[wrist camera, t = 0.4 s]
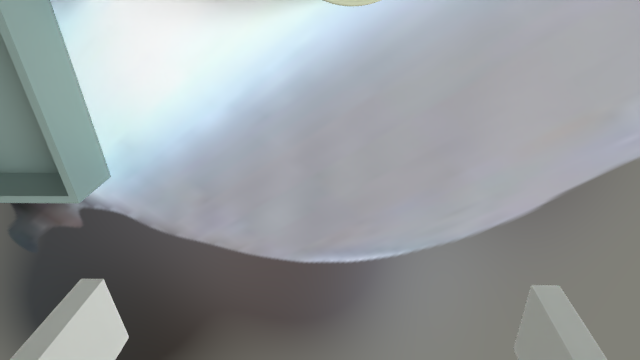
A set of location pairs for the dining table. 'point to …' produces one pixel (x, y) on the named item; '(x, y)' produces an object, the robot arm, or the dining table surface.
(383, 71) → the dining table surface
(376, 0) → the can
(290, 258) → the dining table surface
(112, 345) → the robot arm
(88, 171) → the tote
